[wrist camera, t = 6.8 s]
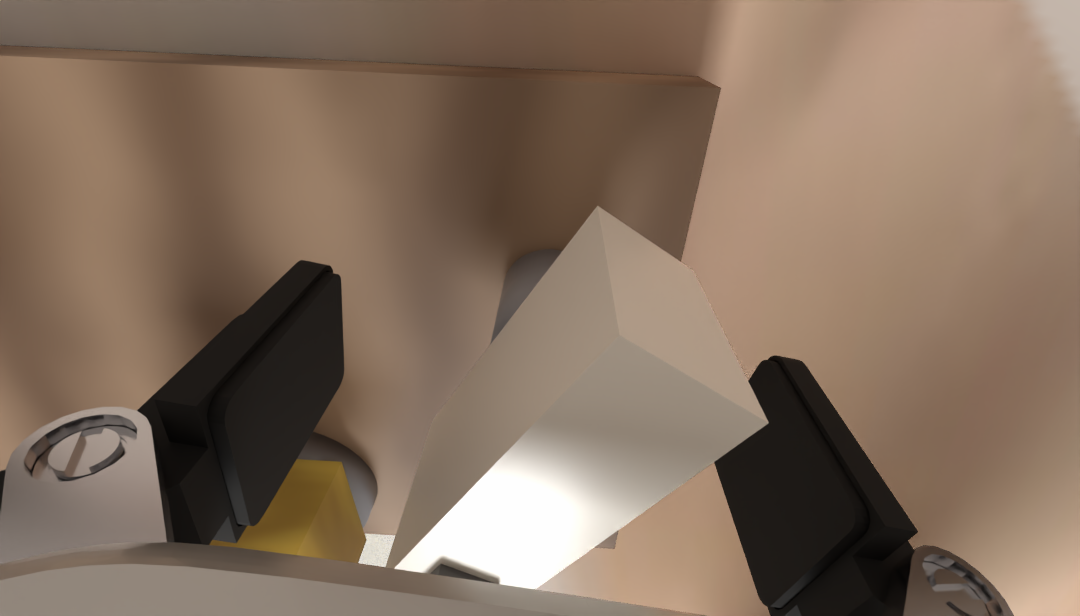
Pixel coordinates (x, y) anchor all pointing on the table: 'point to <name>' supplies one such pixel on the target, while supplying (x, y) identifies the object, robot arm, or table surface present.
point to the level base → (307, 232)
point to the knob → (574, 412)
